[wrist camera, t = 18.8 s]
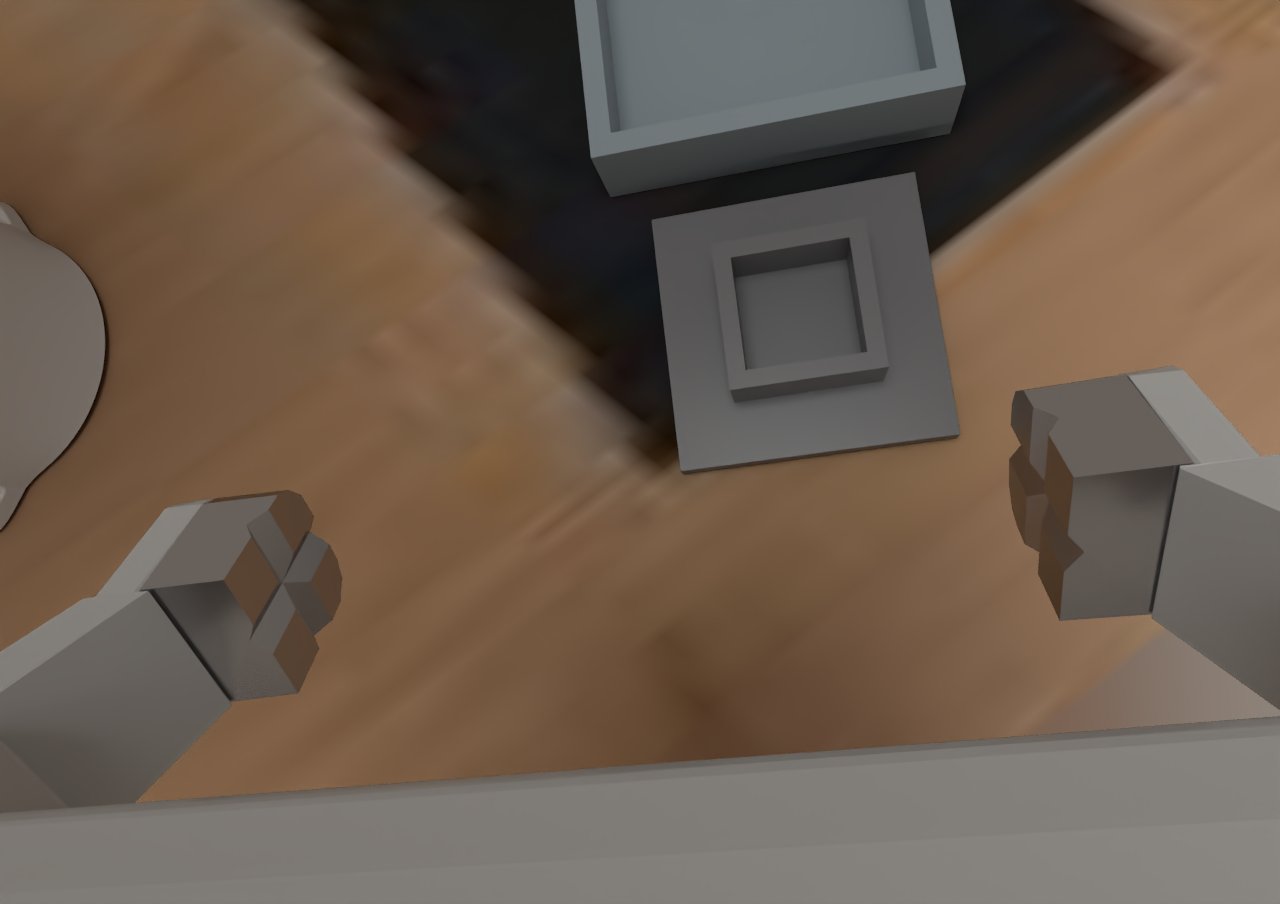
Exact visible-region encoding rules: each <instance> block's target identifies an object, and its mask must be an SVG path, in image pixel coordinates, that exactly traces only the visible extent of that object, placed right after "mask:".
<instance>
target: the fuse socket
mask: <svg viewBox="0 0 1280 904" xmlns="http://www.w3.org/2000/svg"><path fill="white" fill-rule="evenodd" d="M652 228H653V236H654V245H655V254H656V262H657V271H658V279H659V288H660V297H661V305H662V314H663V323H664V331H665V340H666V348H667V357H668V366H669V374H670V383H671V392H672V400H673V409H674V418H675V426H676V435H677V443H678V452H679V461H680V469H681V472H682V473H683V474H688V473H696V472H703V471H711V470H719V469H726V468H734V467H741V466H749V465H756V464H764V463H771V462H779V461H787V460H794V459H802V458H809V457H817V456H824V455H832V454H839V453H847V452H855V451H862V450H870V449H877V448H885V447H892V446H900V445H908V444H915V443H923V442H930V441H938V440H945V439H953V438H957V437H958V436H959V435H960V430H959V424H958V418H957V412H956V407H955V401H954V395H953V389H952V384H951V378H950V372H949V366H948V361H947V355H946V349H945V343H944V338H943V332H942V326H941V320H940V315H939V309H938V303H937V297H936V291H935V286H934V280H933V274H932V268H931V263H930V257H929V251H928V245H927V240H926V234H925V228H924V222H923V217H922V211H921V205H920V199H919V194H918V188H917V182H916V176H915V172H912V173H906V174H901V175H895V176H890V177H885V178H879V179H874V180H868V181H863V182H857V183H852V184H846V185H841V186H835V187H830V188H824V189H819V190H813V191H808V192H802V193H797V194H791V195H786V196H780V197H775V198H769V199H764V200H758V201H753V202H747V203H742V204H736V205H731V206H725V207H720V208H714V209H709V210H703V211H698V212H692V213H687V214H681V215H676V216H670V217H665V218H659V219H654V220H652Z"/></svg>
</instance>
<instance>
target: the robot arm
mask: <svg viewBox="0 0 1280 904" xmlns="http://www.w3.org/2000/svg"><path fill="white" fill-rule="evenodd" d="M104 356H105V330H104V322H103V316H102V312H101V308H100V304H99V301H98V298H97V296H96V293H95V291H94V289H93V287H92V285H91V283H90V281H89V280H88V278H87V277H86V275H85V274H84V272H83V271H82V270H81V269H80V267H79V266H78V265H77V264H76V263H75V262H74V261H73V260H72V259H71V258H69V257H68V256H67V255H66V254H64V253H63V252H61V251H60V250H58V249H57V248H55V247H53V246H51V245H49V244H47V243H45V242H43V241H41V240H39V239H38V238H36V237H35V236H33V235H32V234H31V233H30V232H29V230H28V229H27V227H26V226H25V224H24V223H23V221H22V220H21V218H20V217H19V215H18V214H17V213H16V211H15V210H14V209H13V208H12V207H11V206H9V205H8V204H6V203H3V202H1V201H0V530H1V529H2V528H3V526H4V525H5V524H6V522H7V521H8V520H9V518H10V516H11V515H12V513H13V511H14V510H15V508H16V506H17V504H18V502H19V500H20V498H21V496H22V494H23V493H24V491H25V489H26V487H27V486H28V485H29V484H30V483H31V481H32V480H33V479H34V478H35V477H36V476H37V475H38V474H39V473H41V472H42V471H43V470H44V469H45V468H46V467H47V466H48V465H49V464H51V463H52V462H53V461H54V460H55V459H56V458H57V457H58V456H59V455H60V454H61V453H62V452H63V450H64V449H65V448H66V447H67V446H68V444H69V443H70V442H71V441H72V439H73V438H74V436H75V435H76V434H77V432H78V431H79V429H80V427H81V426H82V424H83V422H84V420H85V419H86V417H87V415H88V413H89V411H90V409H91V406H92V404H93V401H94V399H95V396H96V393H97V390H98V387H99V383H100V380H101V375H102V371H103V364H104ZM1011 426H1012V428H1013V430H1014V432H1015V434H1016V436H1017V438H1018V440H1019V442H1020V444H1021V446H1020V447H1019V448H1018V449H1017V451H1016V452H1015V453H1014V454H1013V455H1012V456H1011V458H1010V459H1009V489H1010V496H1011V504H1012V510H1013V514H1014V517H1015V520H1016V524H1017V527H1018V529H1019V532H1020V534H1021V537H1022V539H1023V541H1024V544H1026V545H1028V546H1029V547H1031V548H1033V549H1034V550H1036V551H1038V552H1039V566H1038V575H1039V577H1040V579H1041V581H1042V583H1043V586H1044V588H1045V590H1046V592H1047V594H1048V596H1049V598H1050V601H1051V603H1052V605H1053V607H1054V609H1055V611H1056V614H1057V616H1058V618H1059V620H1060V621H1062V620H1076V619H1091V618H1105V617H1119V616H1133V615H1147V614H1152V619H1154V620H1155V621H1156V622H1158V623H1159V624H1160V625H1162V626H1163V627H1165V628H1166V629H1167V630H1169V631H1170V632H1172V633H1173V634H1174V635H1176V636H1177V637H1179V638H1180V639H1181V640H1183V641H1184V642H1186V643H1187V644H1188V645H1190V646H1191V647H1193V648H1194V649H1195V650H1197V651H1198V652H1200V653H1201V654H1202V655H1204V656H1205V657H1207V658H1208V659H1209V660H1211V661H1212V662H1213V663H1215V664H1216V665H1218V666H1219V667H1220V668H1222V669H1223V670H1225V671H1226V672H1227V673H1229V674H1230V675H1232V676H1233V677H1234V678H1236V679H1237V680H1239V681H1240V682H1241V683H1243V684H1244V685H1246V686H1247V687H1248V688H1250V689H1251V690H1253V691H1254V692H1255V693H1257V694H1258V695H1259V696H1261V697H1262V698H1264V699H1265V700H1266V701H1268V702H1269V703H1271V704H1272V705H1274V706H1275V707H1276V708H1278V709H1279V710H1280V455H1270V456H1260V455H1259V453H1258V452H1257V451H1256V450H1255V449H1254V448H1253V447H1252V446H1251V445H1250V444H1249V442H1248V441H1247V440H1246V439H1245V438H1244V437H1243V436H1242V435H1241V434H1240V432H1239V431H1238V430H1237V429H1236V428H1235V427H1234V426H1233V425H1232V424H1231V423H1230V421H1229V420H1228V419H1227V418H1226V417H1225V416H1224V415H1223V414H1222V413H1221V411H1220V410H1219V409H1218V408H1217V407H1216V406H1215V405H1214V404H1213V403H1212V401H1211V400H1210V399H1209V398H1208V397H1207V396H1206V395H1205V394H1204V393H1203V392H1202V390H1201V389H1200V388H1199V387H1198V386H1197V385H1196V384H1195V383H1194V382H1193V380H1192V379H1191V378H1190V377H1189V376H1188V375H1187V374H1186V373H1185V372H1184V371H1183V370H1182V369H1181V368H1178V367H1175V366H1166V367H1160V368H1154V369H1148V370H1142V371H1136V372H1130V373H1124V374H1119V375H1118V376H1111V377H1105V378H1098V379H1092V380H1085V381H1079V382H1072V383H1066V384H1059V385H1053V386H1046V387H1040V388H1033V389H1027V390H1020V391H1015V395H1014V399H1013V403H1012V413H1011ZM313 518H314V516H313V514H312V512H311V511H310V509H309V507H308V506H307V504H306V502H305V501H304V499H303V497H302V496H301V495H299V494H297V493H294V492H292V491H289V490H284V491H276V492H267V493H258V494H250V495H241V496H232V497H224V498H216V499H213V500H211V499H206V500H199V501H192V502H185V503H179V504H176V505H174V506H171V507H168V508H165V510H164V511H163V512H162V513H161V515H160V516H159V517H158V518H157V520H156V521H155V522H154V523H153V525H152V526H151V527H150V529H149V530H148V531H147V532H146V534H145V535H144V536H143V537H142V539H141V540H140V541H139V542H138V544H137V545H136V546H135V547H134V549H133V550H132V551H131V552H130V554H129V555H128V556H127V557H126V559H125V560H124V561H123V563H122V564H121V565H120V566H119V568H118V569H117V570H116V571H115V573H114V574H113V575H112V576H111V578H110V579H109V580H108V581H107V583H106V584H105V585H104V586H103V588H102V589H101V590H100V591H99V593H98V594H97V595H96V597H91V598H83V599H82V600H80V601H79V602H77V603H75V604H74V605H72V606H71V607H69V608H68V609H66V610H65V611H63V612H61V613H60V614H58V615H57V616H55V617H54V618H52V619H51V620H49V621H47V622H46V623H44V624H43V625H41V626H40V627H38V628H36V629H35V630H33V631H32V632H30V633H29V634H27V635H26V636H24V637H22V638H21V639H19V640H18V641H16V642H15V643H13V644H11V645H10V646H8V647H7V648H5V649H4V650H2V651H1V652H0V904H1280V716H1277V717H1264V718H1250V719H1237V720H1224V721H1211V722H1197V723H1184V724H1172V725H1159V726H1145V727H1133V728H1120V729H1107V730H1094V731H1081V732H1068V733H1056V734H1043V735H1030V736H1017V737H1004V738H991V739H979V740H965V741H951V742H938V743H924V744H911V745H897V746H883V747H870V748H856V749H843V750H829V751H816V752H802V753H788V754H775V755H761V756H748V757H734V758H720V759H707V760H693V761H680V762H666V763H653V764H640V765H627V766H614V767H601V768H588V769H575V770H561V771H548V772H535V773H522V774H509V775H496V776H483V777H470V778H456V779H443V780H430V781H417V782H404V783H391V784H378V785H365V786H352V787H338V788H325V789H312V790H299V791H285V792H272V793H259V794H246V795H232V796H219V797H206V798H193V799H179V800H166V801H153V802H140V803H135V802H136V801H137V800H138V799H139V798H140V797H141V796H142V795H143V794H144V793H145V792H146V791H147V790H148V789H149V788H150V787H151V786H152V785H153V784H154V783H155V782H156V781H157V780H158V779H159V778H160V777H161V776H162V775H163V774H164V773H165V772H166V771H167V770H168V769H169V768H170V767H171V766H172V765H173V764H174V763H175V762H176V761H177V760H178V759H179V758H180V757H181V756H182V755H183V754H184V753H185V752H186V751H187V750H188V749H189V748H190V747H191V746H192V745H193V744H194V743H195V742H196V741H197V740H198V739H199V738H200V737H201V736H202V735H203V734H204V733H205V732H206V731H207V730H208V729H209V728H210V727H211V726H212V725H213V724H214V723H215V722H216V721H217V720H218V719H219V718H220V717H221V716H222V715H223V714H224V713H225V712H226V711H227V710H228V709H229V708H230V707H231V706H232V704H231V702H233V701H241V700H249V699H257V698H265V697H273V696H281V695H289V694H297V693H299V691H300V689H301V686H302V684H303V682H304V680H305V678H306V676H307V674H308V671H309V669H310V667H311V665H312V663H313V661H314V659H315V657H316V654H317V652H318V650H319V647H318V644H317V642H316V639H315V637H314V635H315V634H316V633H318V632H319V631H320V630H321V629H322V628H323V627H325V626H326V625H327V624H328V623H329V622H331V621H332V620H333V617H334V615H335V613H336V610H337V608H338V606H339V603H340V601H341V586H342V576H341V572H340V568H339V564H338V560H337V558H336V556H335V554H334V552H333V550H332V549H331V547H330V545H329V544H328V543H326V542H325V541H323V540H322V539H320V538H319V537H317V536H316V535H314V534H313V533H311V532H310V530H311V526H312V522H313Z"/></svg>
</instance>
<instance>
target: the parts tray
mask: <svg viewBox="0 0 1280 904" xmlns="http://www.w3.org/2000/svg"><path fill="white" fill-rule="evenodd" d="M575 9H576V19H577V28H578V38H579V48H580V57H581V67H582V76H583V86H584V95H585V105H586V115H587V124H588V134H589V143H590V153H591V159H592V161H593V163H594V165H595V167H596V169H597V171H598V173H599V175H600V177H601V179H602V181H603V183H604V185H605V187H606V189H607V191H608V193H609V195H610V197H615V196H620V195H626V194H631V193H636V192H642V191H647V190H652V189H658V188H663V187H668V186H674V185H679V184H684V183H690V182H695V181H700V180H706V179H711V178H716V177H722V176H727V175H732V174H738V173H743V172H748V171H754V170H759V169H764V168H770V167H775V166H780V165H786V164H791V163H796V162H802V161H807V160H812V159H818V158H823V157H828V156H834V155H839V154H844V153H850V152H855V151H860V150H866V149H871V148H876V147H882V146H887V145H892V144H897V143H903V142H908V141H913V140H919V139H924V138H929V137H935V136H940V135H945V134H950V132H951V129H952V126H953V123H954V119H955V116H956V113H957V110H958V107H959V104H960V101H961V98H962V95H963V91H964V88H965V85H966V84H965V78H964V73H963V68H962V62H961V57H960V52H959V46H958V41H957V36H956V30H955V25H954V20H953V15H952V9H951V4H950V0H575Z"/></svg>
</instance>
